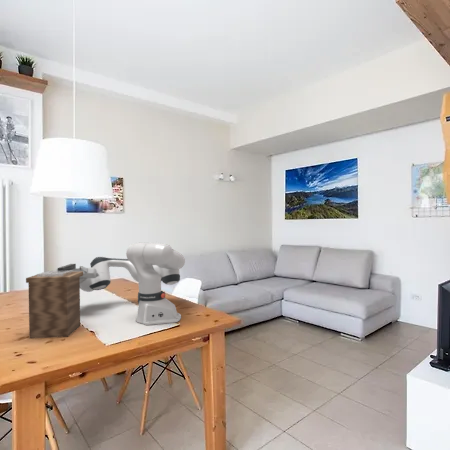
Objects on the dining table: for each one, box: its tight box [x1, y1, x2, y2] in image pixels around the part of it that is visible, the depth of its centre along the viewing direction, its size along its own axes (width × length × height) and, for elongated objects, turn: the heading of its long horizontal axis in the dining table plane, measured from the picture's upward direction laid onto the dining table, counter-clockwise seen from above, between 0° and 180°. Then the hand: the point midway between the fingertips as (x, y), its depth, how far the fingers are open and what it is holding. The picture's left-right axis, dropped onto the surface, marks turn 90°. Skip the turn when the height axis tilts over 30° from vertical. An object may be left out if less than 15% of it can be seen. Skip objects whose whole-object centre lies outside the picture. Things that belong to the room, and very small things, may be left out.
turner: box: [36, 263, 77, 277], centre depth 150 cm, size 11×25×2 cm, turn 4°
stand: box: [25, 271, 83, 339], centre depth 143 cm, size 18×16×26 cm
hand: (71, 267), depth 160 cm, fingers open, 8 cm apart
